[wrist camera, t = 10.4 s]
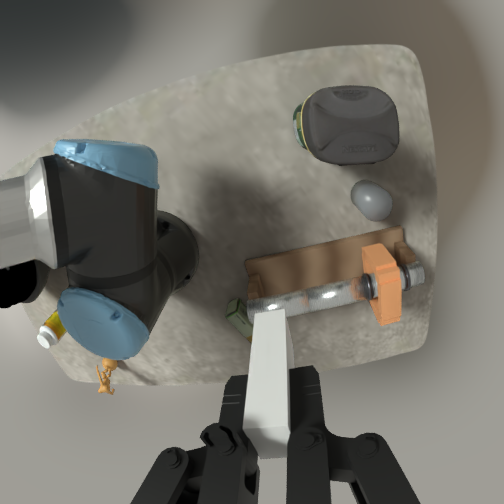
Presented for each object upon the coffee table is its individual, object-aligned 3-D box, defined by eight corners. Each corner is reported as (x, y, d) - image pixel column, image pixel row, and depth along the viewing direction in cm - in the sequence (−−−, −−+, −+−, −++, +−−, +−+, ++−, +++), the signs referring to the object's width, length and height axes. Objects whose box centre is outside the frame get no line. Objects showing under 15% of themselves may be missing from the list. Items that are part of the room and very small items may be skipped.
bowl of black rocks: (42, 183, 45) (-26, 214, 28) (81, 269, 53) (28, 322, 36) (1, 217, 49) (-53, 249, 32) (34, 287, 57) (-10, 331, 40)
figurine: (99, 345, 62) (78, 379, 51) (117, 345, 61) (96, 381, 50) (114, 368, 65) (97, 402, 54) (132, 369, 64) (115, 404, 54)
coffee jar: (352, 97, 36) (403, 82, 20) (358, 147, 40) (411, 166, 23) (288, 101, 38) (298, 84, 21) (295, 153, 41) (311, 173, 24)
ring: (365, 294, 46) (381, 330, 37) (360, 243, 42) (379, 273, 33) (382, 290, 45) (400, 325, 37) (378, 238, 42) (401, 268, 33)
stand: (259, 303, 52) (257, 327, 46) (245, 260, 49) (241, 281, 43) (402, 271, 48) (416, 290, 42) (399, 225, 44) (416, 240, 38)
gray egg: (353, 211, 44) (363, 224, 39) (348, 183, 42) (358, 191, 37) (380, 205, 43) (394, 217, 38) (376, 177, 41) (390, 185, 36)
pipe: (254, 314, 46) (252, 330, 42) (247, 293, 44) (244, 309, 40) (414, 277, 41) (425, 291, 37) (414, 254, 39) (425, 267, 36)
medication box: (227, 303, 53) (223, 316, 50) (238, 296, 52) (235, 309, 49) (264, 343, 57) (263, 357, 53) (275, 337, 56) (275, 351, 52)
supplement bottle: (58, 303, 58) (35, 328, 49) (75, 317, 59) (53, 343, 50) (54, 316, 60) (33, 340, 51) (70, 329, 61) (50, 355, 52)
